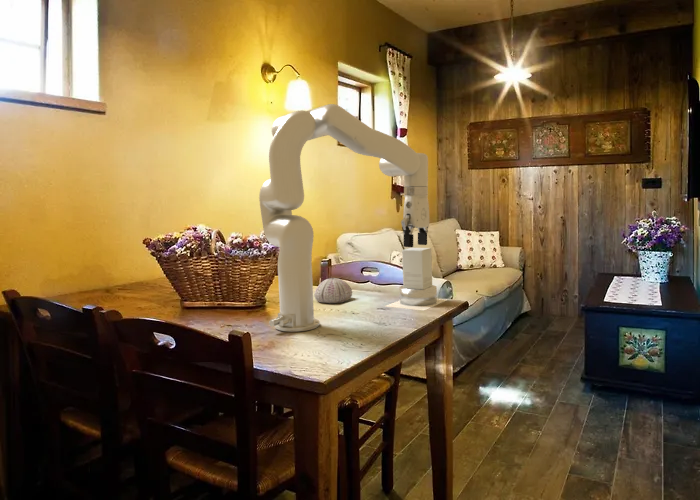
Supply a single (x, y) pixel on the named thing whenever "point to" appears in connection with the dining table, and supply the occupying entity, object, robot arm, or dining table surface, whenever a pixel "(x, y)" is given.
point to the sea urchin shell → (333, 291)
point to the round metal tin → (418, 296)
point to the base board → (398, 305)
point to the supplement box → (417, 268)
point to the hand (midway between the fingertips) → (415, 245)
